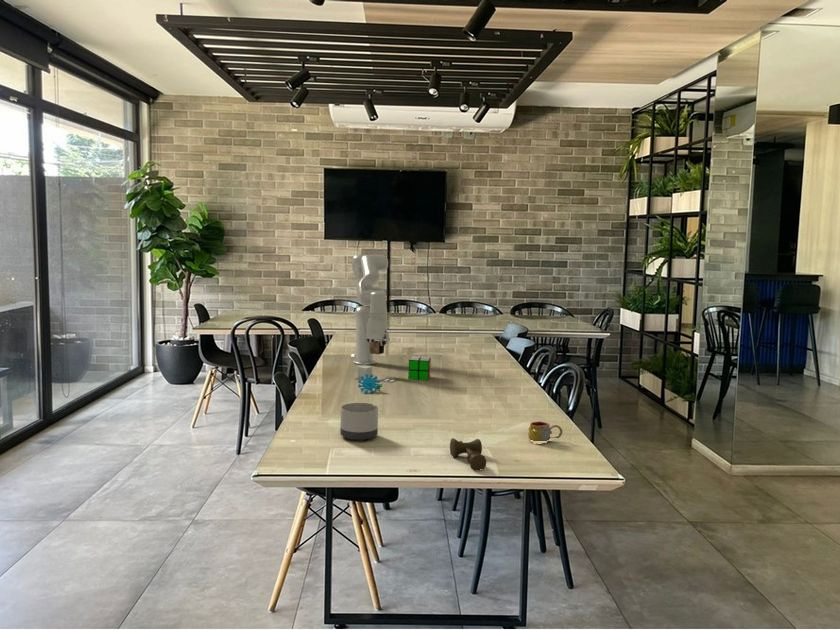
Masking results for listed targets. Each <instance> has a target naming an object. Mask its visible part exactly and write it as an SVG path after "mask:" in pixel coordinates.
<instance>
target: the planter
mask: <svg viewBox="0 0 840 630" xmlns="http://www.w3.org/2000/svg"><path fill="white" fill-rule="evenodd" d="M339 423H340V428H339V429H340V430H339V433H340V436H342V437H343V438H346V439H348V440H350V439H351V441H356V440H362V441H366V440H367V439H368V440H370V439H373V438H375V437H377V436H378V434H379V406H378V405H376V404H373V403H368V402H350V403H345V404H343V405H341V406H340V422H339ZM368 440H367V441H368Z"/></svg>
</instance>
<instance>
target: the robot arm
mask: <svg viewBox="0 0 840 630" xmlns="http://www.w3.org/2000/svg"><path fill="white" fill-rule="evenodd" d="M351 260H352V261H351V267H352V271H353V275H354V277H355V281H356V300H357V302H358V303H359V304H360V305H361V306H358V307H356V309H355V312H354V317H355V326H356V329H355V330H356V335H355V337H356V338H355V339H356V341H355V342H356V343H355V353H351V355H350V358H352V359H353V360H352V363H353V364H355V365H359V366H363V365H365V366H370V365H375V364H376V363H377V360H375V359H374V354H370V341H380V346H379V354H378V355H382V353H383V354H384V352H385V346H386V344H387V343H388V342H389V341H390V339H391V338H390V337H389V335H388V325H387V323H388V322H387V319H388V308H387V292H386V290H385V288H383V287H380V286H373V285H374V284H376V283H377V282H379V280H380V278H381V277H380V276H381V275H380V271H386V270H387V269H388V268H389V259H388V257H387V256H386V255H384V254H371V253H369V254H356V255H354V256H353V257H352V259H351Z"/></svg>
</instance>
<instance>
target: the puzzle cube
mask: <svg viewBox="0 0 840 630" xmlns="http://www.w3.org/2000/svg"><path fill="white" fill-rule="evenodd" d="M431 359H432V358H431V357H429V356H410V358H409V360H408V377H407V378H408V380H419V381H429V380H430V377H431V364H432V363H431V361H432V360H431Z"/></svg>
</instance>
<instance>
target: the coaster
mask: <svg viewBox="0 0 840 630" xmlns="http://www.w3.org/2000/svg"><path fill="white" fill-rule="evenodd" d="M379 380H380V382H383V383H384V382H385V383H390V384H392V383H396V382H399V381H401V379H397V378H389V377H385V378H382V379H379Z"/></svg>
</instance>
